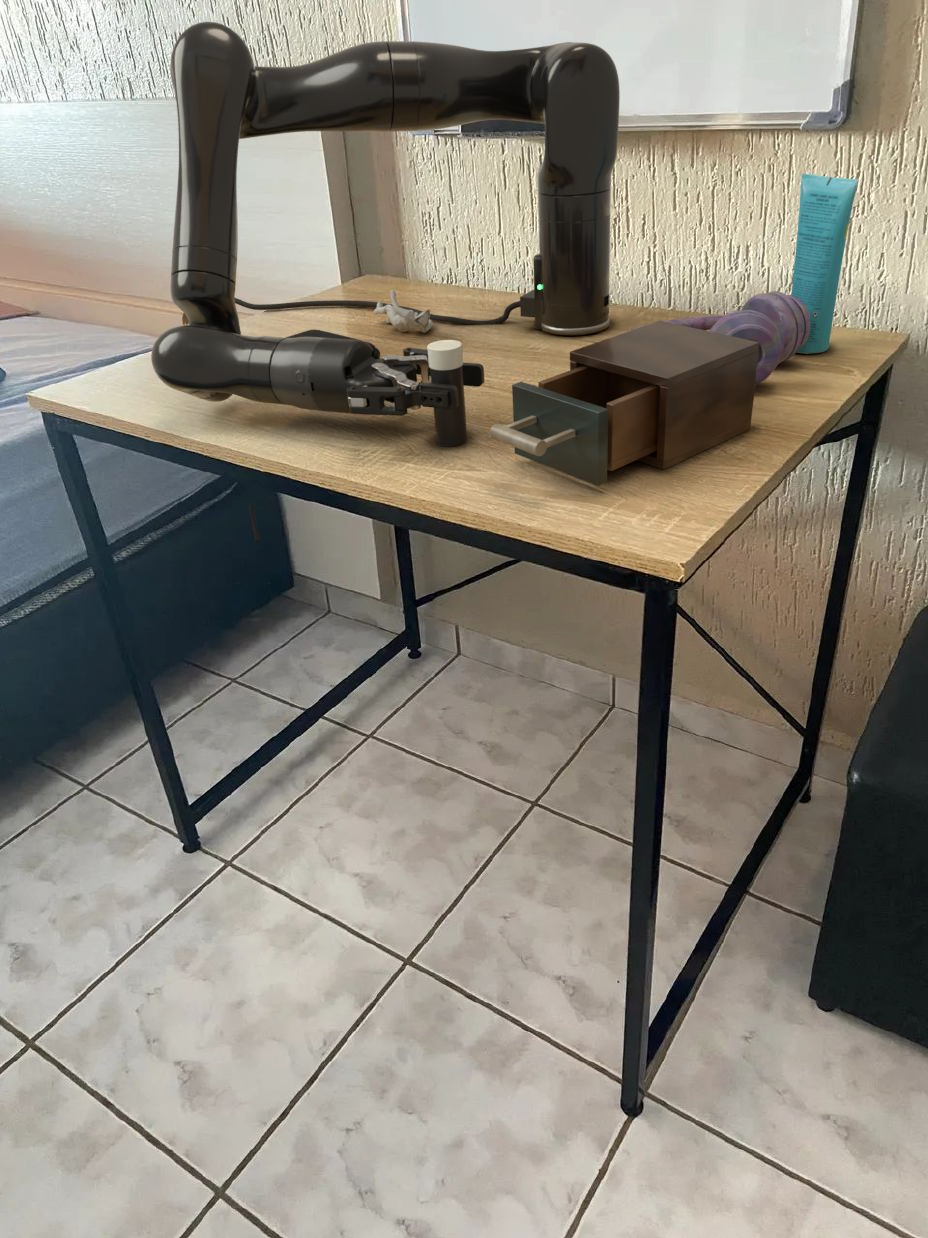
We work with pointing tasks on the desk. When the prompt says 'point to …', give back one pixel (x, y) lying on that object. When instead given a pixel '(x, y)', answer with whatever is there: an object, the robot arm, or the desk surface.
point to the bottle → (448, 371)
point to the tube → (821, 251)
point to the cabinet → (684, 383)
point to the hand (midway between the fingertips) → (469, 386)
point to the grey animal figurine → (404, 316)
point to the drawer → (583, 422)
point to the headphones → (762, 327)
